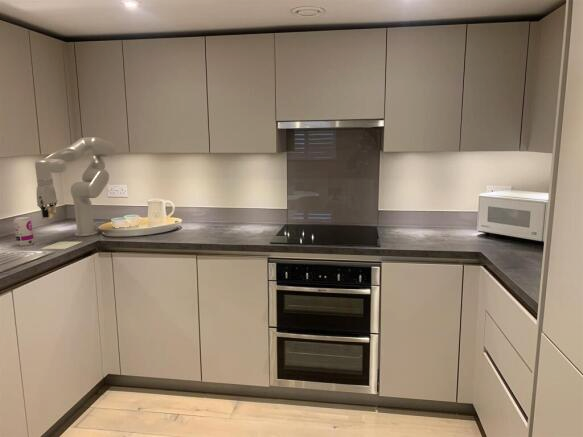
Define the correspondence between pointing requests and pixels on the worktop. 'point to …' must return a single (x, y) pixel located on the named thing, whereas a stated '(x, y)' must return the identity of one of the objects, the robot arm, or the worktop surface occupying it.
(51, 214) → the birch block
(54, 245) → the sage mat
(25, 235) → the supplement can
